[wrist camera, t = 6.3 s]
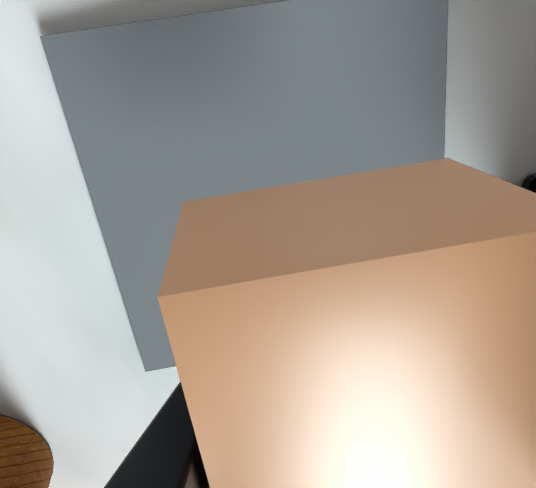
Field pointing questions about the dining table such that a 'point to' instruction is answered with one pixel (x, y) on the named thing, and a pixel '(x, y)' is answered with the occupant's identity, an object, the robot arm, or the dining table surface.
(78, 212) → the dining table surface
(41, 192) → the dining table surface
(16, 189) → the dining table surface
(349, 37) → the slate mat
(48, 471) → the disposable coffee cup
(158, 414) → the robot arm
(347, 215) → the clay brick
